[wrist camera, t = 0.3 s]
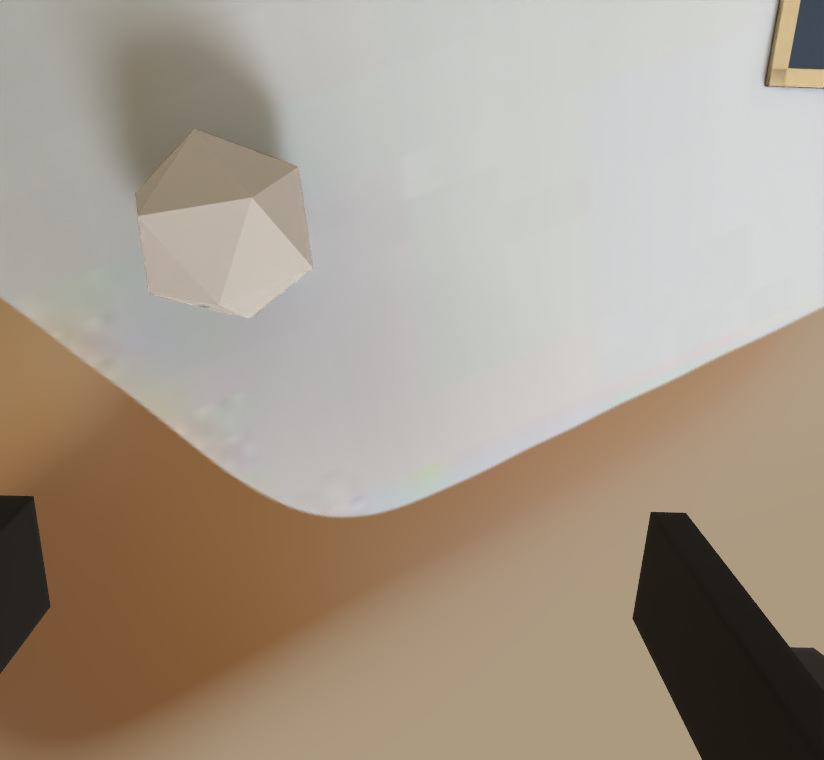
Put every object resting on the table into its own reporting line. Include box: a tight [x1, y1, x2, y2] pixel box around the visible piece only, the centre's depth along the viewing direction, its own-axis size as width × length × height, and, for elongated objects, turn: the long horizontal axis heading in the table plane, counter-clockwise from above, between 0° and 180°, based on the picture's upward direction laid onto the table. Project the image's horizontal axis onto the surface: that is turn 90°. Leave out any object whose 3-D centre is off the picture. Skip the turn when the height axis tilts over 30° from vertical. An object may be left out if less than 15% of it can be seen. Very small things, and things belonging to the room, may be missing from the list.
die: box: [135, 129, 313, 319], centre depth 36 cm, size 8×9×10 cm
